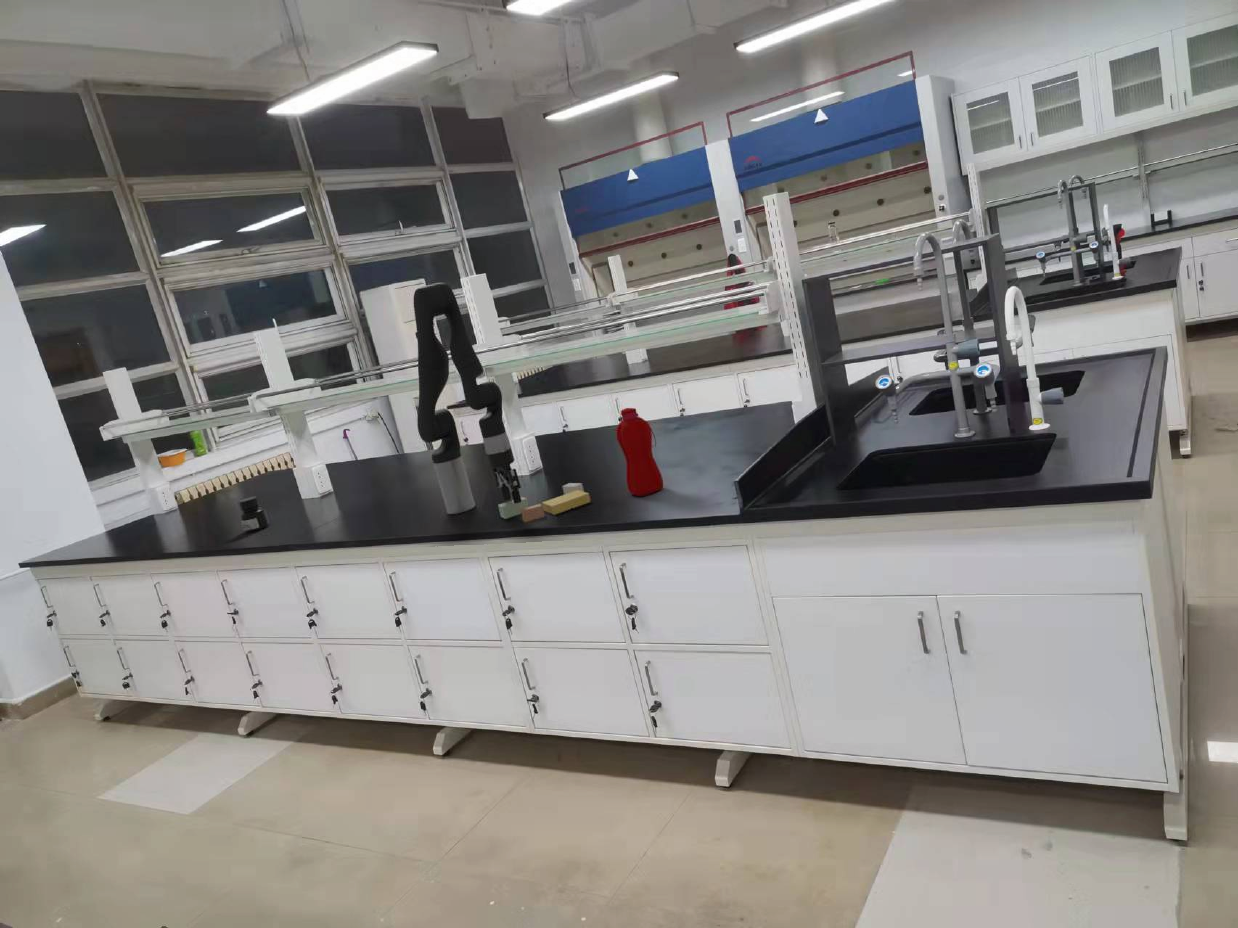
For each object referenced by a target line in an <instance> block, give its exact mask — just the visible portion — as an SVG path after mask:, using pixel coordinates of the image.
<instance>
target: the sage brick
mask: <svg viewBox="0 0 1238 928" xmlns="http://www.w3.org/2000/svg"><path fill="white" fill-rule="evenodd" d="M520 497H521V502H519V503H514V501H513V499H512V500H510V501H506V502H503V503H499V504H498V505H497V506H498V510H499V514H500V517H501V518H502V519H505V520H507V519H509V518H512V517H515V516H519V515H522V513H521V509H523V508H527V507H530V506H529V502H528V498H526V497H524V496H520Z"/></svg>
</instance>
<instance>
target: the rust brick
mask: <svg viewBox="0 0 1238 928" xmlns="http://www.w3.org/2000/svg"><path fill="white" fill-rule="evenodd" d="M544 512H545V511H544V509H543V505H542V503H538V504H534V505H531V506H529V507H527V508H523V509H521V517H522V520H523V523H528V522H531V521H534V519H535V520H538V519H542V518H544V517H545V513H544Z"/></svg>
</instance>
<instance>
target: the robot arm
mask: <svg viewBox="0 0 1238 928" xmlns="http://www.w3.org/2000/svg"><path fill="white" fill-rule="evenodd" d="M413 310H414V311H413V312H414V320H415V326H416V338H417V372H418V405H417V407H418V408H417V419H416V421H417V422H416V423H417V430H418V431H417V432H418V434H419V437H420V439H421V440H422V441H423V442H424V443H429V444H430V443H435V442H437V441H440V440H441V441H440V445H439V446H438V448H437V449H436V450H435V451H433V452H432V454H431V460H432V463H433V467H434V470H435V474H436V476H437V480H438V485H439V488H440V490H441V495H442V498H443V502H444V505H445V510H446V512H447V514H448V515H456V514H460V513H463V512H467V511H470V510H472V509H474V508H475V506H476V503H475V500H474V497H473V493H472V488H471V485H470V483H469V482H470V481H469V477H468V474H467V471H466V468H465V467H466V466H465V463H464V460H463V456H462V453H461V444H460V443H461V442H460V438H459V433H458V429H457V424H456V421H455V418H454V416H453V414H452V413H451V411H450V410H449V409H448V408H439V409H436V406H437V403H438V400H439V398H440V396H441V394H442V393H443V391H444V388H445V387H446V385H447V383H448V381H449V375H450V359H449V358H450V357H451V361H452V362H453V364H454V366H455V367H454V368H455V369H456V370H457V373H458V374H459V377H460V380H461V385H462V390H463V395H464V399H465V403H466V404H467V405H468V407H470V409H471V410H474V411H480V410H483V409H486V413H485V414H484V415H483V416H482V417H481V418H479V420H478V425H479V429H480V433H481V437H482V439H483V440H482V441H483V446H484V450H485V455H486V457H487V461H488V464H489V467H490V468H491V469H492V472H493V476H494V481H495V484H496V485H495V486H497V487H498V488H499V489H500V490H501V494H502V498H503V500H504V501H507V500H510V499H512V500H513V501H514V503H519V502H521V497H522V496H521V494H520V491H519V490H520V489H522V485H521V482H520V479H519V475H518V471H517V470H516V468H512V467H511V464H513V463H514V462H515V457H514V452H513V448H512V445H511V443H510V438H509V436H508V434H507V431H506V427H505V424H504V420H503V395H502V390H501V389H500V387H499V386H498V384H497V383H496V382H494V381H487V382H486V381H485V382H482V383H481V384H480V383H479V384H478V383H477V378H479V377H480V376H481V375H482V374H483V373H484V367H483V366H482V363H481V361H480V359H479V357H478V355H477V353H476V351H475V349H474V346H473V345H472V342H471V340H470V337H469V334H468V332H467V328H466V326H465V321H464V319H463V315H462V311H461V310H460V307H459V303H458V301H457V297H456V295H455V293H454V290H453V289H452V288H451V286H450V285H448V284H447V283H446V282H436V283H431V284H428V285H427V284H426V285H422V286H420V287H418V288H416V290H414V293H413ZM440 316H445V318H446V320H447V321H448V324H449V330H450V340H449V354H450V357H449V354H448V351H447V350H446V348H445V346H444V345H443V343H441V341H440V340H439V339H438V336H437V335H436V333H435V326H434V320H435V317H440Z"/></svg>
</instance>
